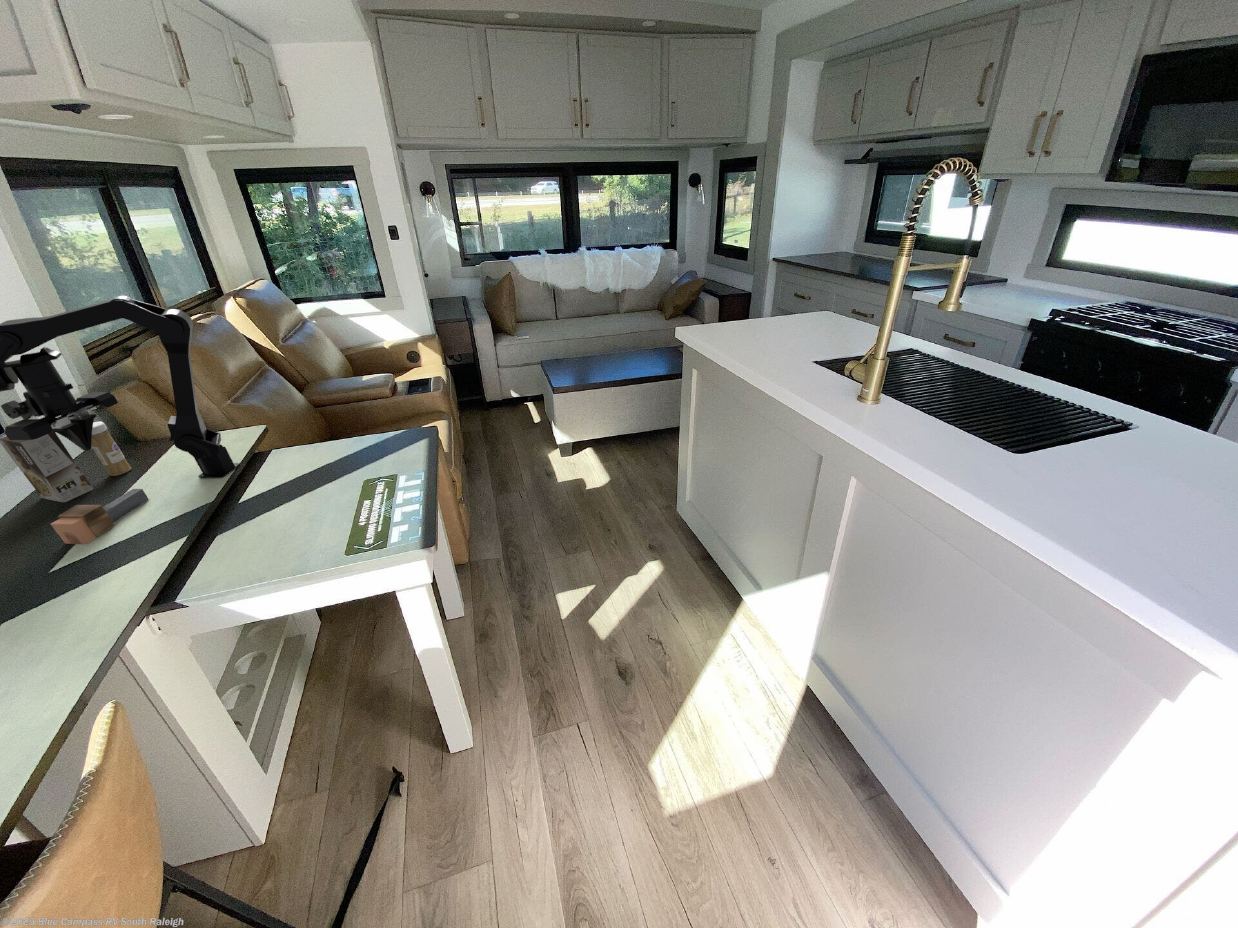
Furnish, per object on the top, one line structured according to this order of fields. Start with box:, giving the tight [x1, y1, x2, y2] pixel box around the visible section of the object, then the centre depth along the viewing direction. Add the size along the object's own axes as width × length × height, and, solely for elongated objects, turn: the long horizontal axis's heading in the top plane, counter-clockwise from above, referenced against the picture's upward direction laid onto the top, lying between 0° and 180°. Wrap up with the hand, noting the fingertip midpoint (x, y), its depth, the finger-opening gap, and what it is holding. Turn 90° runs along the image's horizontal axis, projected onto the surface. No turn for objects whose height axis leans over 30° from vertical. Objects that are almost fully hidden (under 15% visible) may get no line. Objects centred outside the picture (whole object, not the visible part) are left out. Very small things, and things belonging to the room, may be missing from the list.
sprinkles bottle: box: [91, 421, 132, 477], centre depth 129 cm, size 5×5×13 cm
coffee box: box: [0, 431, 94, 503], centre depth 120 cm, size 9×6×16 cm
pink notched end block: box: [50, 518, 97, 545], centre depth 106 cm, size 2×5×5 cm, turn 85°
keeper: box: [57, 504, 116, 538], centre depth 108 cm, size 4×6×5 cm
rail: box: [64, 488, 150, 545], centre depth 112 cm, size 16×2×3 cm, turn 175°
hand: (87, 449), depth 114 cm, fingers closed
